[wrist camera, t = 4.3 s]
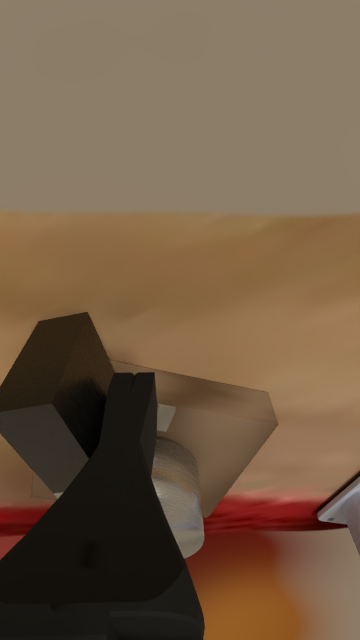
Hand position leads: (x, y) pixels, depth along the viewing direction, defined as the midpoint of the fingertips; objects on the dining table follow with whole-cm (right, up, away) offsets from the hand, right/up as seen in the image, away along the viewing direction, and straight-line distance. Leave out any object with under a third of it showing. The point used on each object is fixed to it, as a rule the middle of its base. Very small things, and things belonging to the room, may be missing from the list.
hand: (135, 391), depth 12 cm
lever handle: (-1, -2, +3) cm, 4 cm away
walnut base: (0, -4, +7) cm, 8 cm away
